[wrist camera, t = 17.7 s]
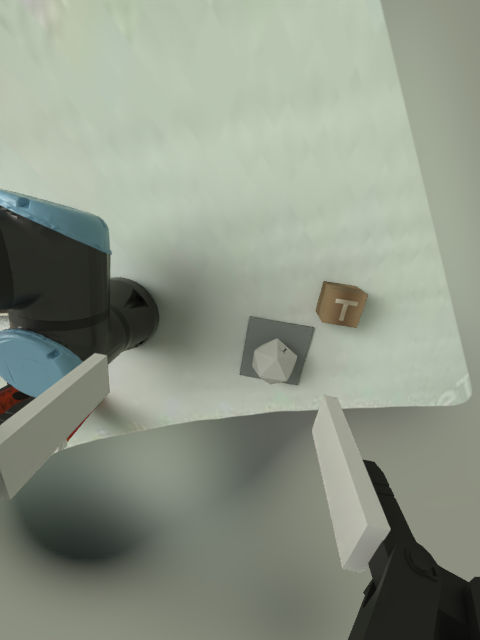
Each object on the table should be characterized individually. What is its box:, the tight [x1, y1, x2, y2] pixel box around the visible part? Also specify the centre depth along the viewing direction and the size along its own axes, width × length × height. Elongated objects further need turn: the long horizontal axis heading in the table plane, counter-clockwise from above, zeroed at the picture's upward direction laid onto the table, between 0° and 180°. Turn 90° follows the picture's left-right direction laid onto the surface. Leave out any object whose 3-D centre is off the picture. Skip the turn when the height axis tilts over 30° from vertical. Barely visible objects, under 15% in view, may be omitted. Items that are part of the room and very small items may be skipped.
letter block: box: [316, 281, 368, 328], centre depth 44 cm, size 6×6×6 cm
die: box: [252, 338, 298, 384], centre depth 48 cm, size 8×9×10 cm
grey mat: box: [240, 316, 314, 385], centre depth 52 cm, size 13×14×1 cm
